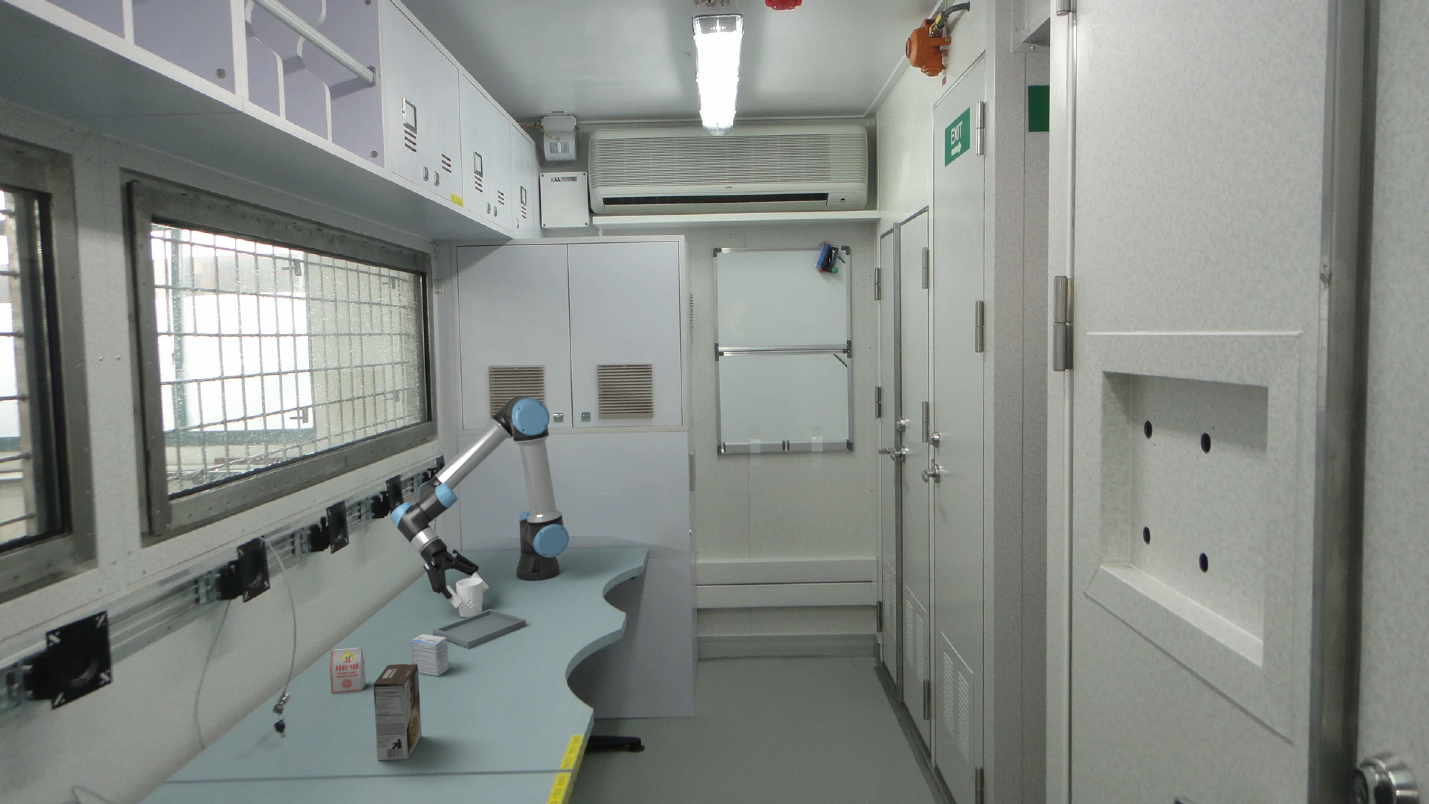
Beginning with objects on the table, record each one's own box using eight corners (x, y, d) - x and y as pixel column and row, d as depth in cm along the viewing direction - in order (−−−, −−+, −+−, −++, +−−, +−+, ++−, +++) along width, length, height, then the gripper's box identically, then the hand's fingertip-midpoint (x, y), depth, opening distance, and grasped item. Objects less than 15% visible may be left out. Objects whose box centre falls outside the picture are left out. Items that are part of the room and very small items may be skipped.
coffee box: (391, 737, 160) (387, 664, 159) (422, 735, 161) (419, 662, 159) (375, 761, 151) (371, 683, 150) (408, 759, 152) (405, 682, 150)
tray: (491, 614, 231) (490, 608, 231) (525, 625, 222) (525, 619, 221) (433, 635, 215) (432, 629, 215) (467, 648, 205) (467, 642, 205)
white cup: (488, 609, 236) (486, 578, 235) (477, 618, 228) (476, 586, 227) (463, 608, 236) (462, 577, 235) (452, 618, 228) (451, 585, 228)
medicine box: (449, 670, 193) (448, 637, 192) (437, 677, 188) (436, 643, 188) (424, 665, 195) (422, 633, 194) (411, 673, 191) (410, 640, 190)
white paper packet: (336, 686, 184) (334, 647, 183) (365, 684, 185) (363, 644, 184) (331, 693, 180) (329, 653, 180) (361, 691, 182) (359, 650, 181)
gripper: (448, 543, 247) (489, 592, 244) (394, 565, 223) (439, 619, 220) (461, 528, 245) (503, 577, 242) (409, 549, 221) (454, 603, 218)
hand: (473, 597), depth 231 cm, fingers open, 13 cm apart
